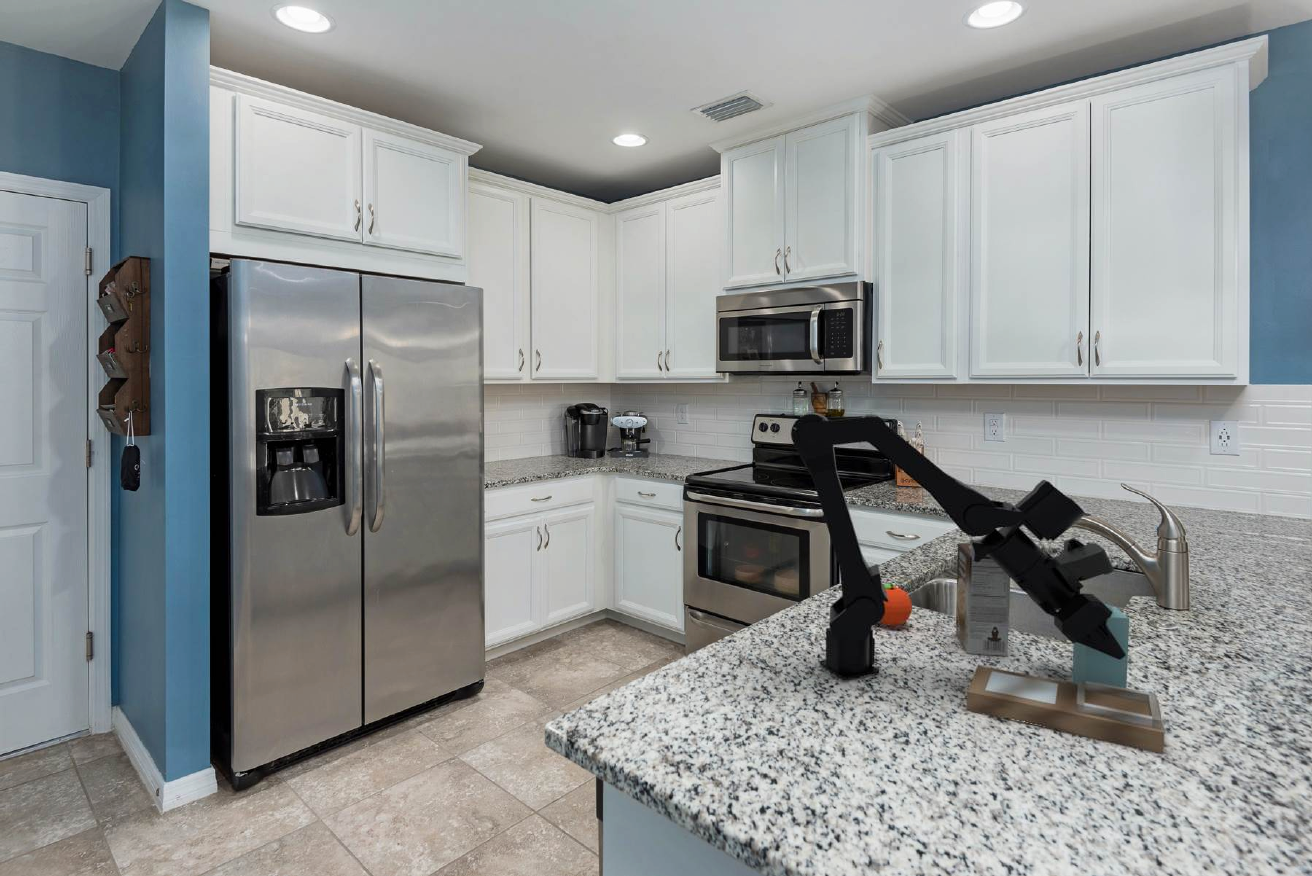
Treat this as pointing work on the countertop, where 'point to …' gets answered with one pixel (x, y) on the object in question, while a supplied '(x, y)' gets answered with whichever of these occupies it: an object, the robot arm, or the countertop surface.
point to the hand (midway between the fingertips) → (1111, 646)
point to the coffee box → (982, 604)
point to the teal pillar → (1104, 656)
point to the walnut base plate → (1070, 706)
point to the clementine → (896, 606)
